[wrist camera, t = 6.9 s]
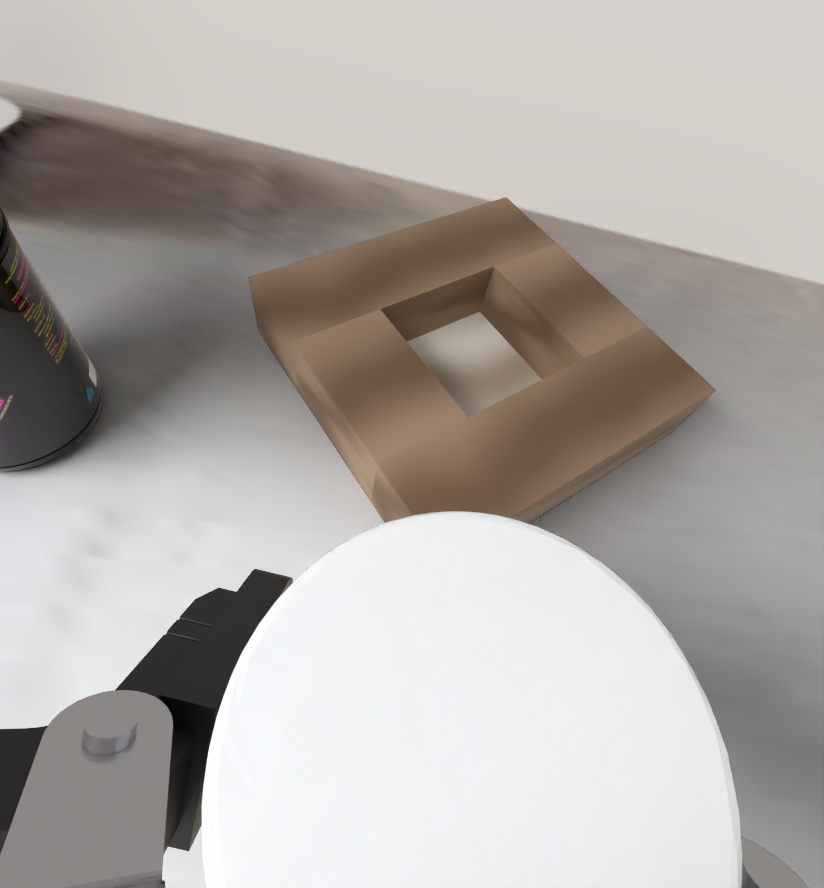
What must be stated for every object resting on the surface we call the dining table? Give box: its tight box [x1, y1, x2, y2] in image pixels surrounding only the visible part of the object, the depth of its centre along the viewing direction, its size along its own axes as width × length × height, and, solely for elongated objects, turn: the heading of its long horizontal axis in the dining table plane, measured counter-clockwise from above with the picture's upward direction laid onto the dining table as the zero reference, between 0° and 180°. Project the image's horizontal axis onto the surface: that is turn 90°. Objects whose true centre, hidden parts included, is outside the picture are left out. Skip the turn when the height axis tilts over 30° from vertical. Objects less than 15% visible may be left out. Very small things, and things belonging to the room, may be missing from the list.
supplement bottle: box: [202, 511, 742, 888], centre depth 9 cm, size 6×6×10 cm
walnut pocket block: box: [249, 198, 716, 524], centre depth 26 cm, size 16×16×4 cm
